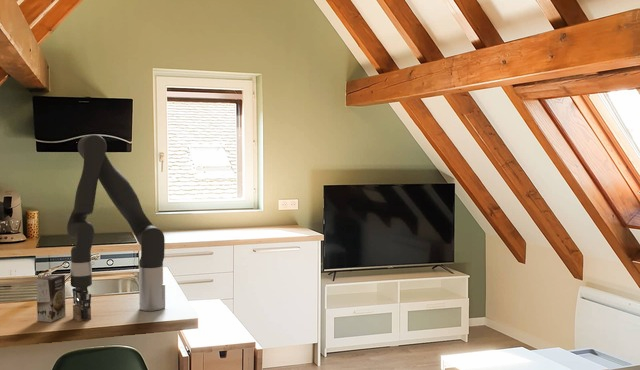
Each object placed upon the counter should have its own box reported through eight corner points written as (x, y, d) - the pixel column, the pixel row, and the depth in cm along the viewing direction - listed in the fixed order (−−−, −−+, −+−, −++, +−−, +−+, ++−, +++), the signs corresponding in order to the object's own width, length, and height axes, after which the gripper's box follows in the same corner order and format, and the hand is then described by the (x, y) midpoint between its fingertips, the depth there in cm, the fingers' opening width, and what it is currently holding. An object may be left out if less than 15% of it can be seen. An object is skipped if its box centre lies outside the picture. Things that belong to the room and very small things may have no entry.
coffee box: (52, 322, 241) (51, 279, 240) (36, 321, 242) (35, 278, 241) (66, 315, 250) (65, 274, 249) (51, 314, 251) (50, 273, 250)
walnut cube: (86, 316, 250) (86, 303, 249) (91, 319, 246) (90, 306, 245) (73, 318, 246) (72, 305, 246) (77, 321, 243) (77, 308, 242)
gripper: (98, 275, 242) (98, 320, 243) (84, 269, 253) (85, 312, 254) (77, 277, 237) (78, 323, 238) (64, 271, 248) (65, 315, 249)
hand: (81, 317), depth 246 cm, fingers closed on walnut cube, 5 cm apart
